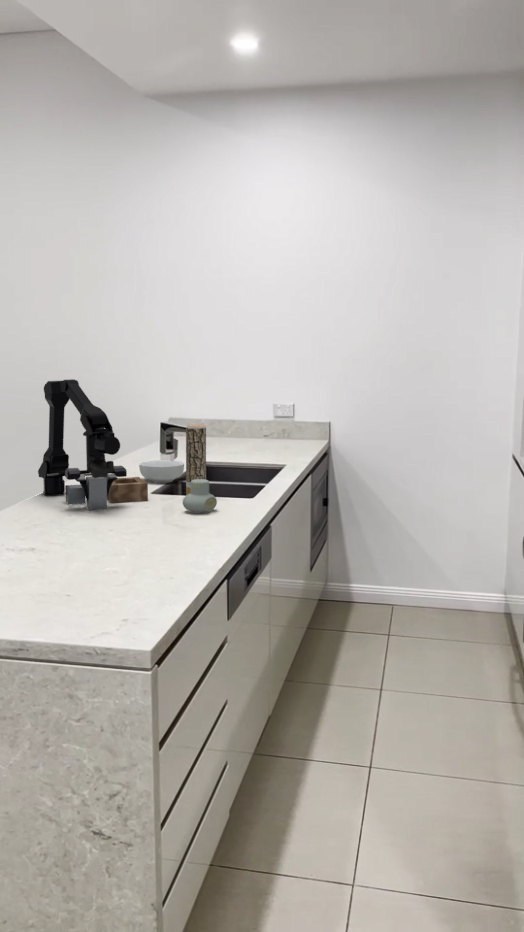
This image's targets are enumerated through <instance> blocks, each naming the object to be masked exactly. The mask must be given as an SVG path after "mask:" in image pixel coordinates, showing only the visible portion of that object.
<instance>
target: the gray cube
mask: <svg viewBox="0 0 524 932" xmlns="http://www.w3.org/2000/svg"><path fill="white" fill-rule="evenodd" d="M64 494H65V503H66V504H67V503H68V504H72V505H82V503H85V504H86V497H85V494H84V491H83V489H82V486H81V484H68V485H66V484H65V492H64ZM68 504H67V505H68Z"/></svg>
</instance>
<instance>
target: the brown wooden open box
mask: <svg viewBox="0 0 524 932" xmlns="http://www.w3.org/2000/svg"><path fill="white" fill-rule="evenodd" d="M148 490H149V484H148V482H146V481H145V480H144V479H143V478H141V477H140V476H132V477H130V476H129V477H117V480H114V481H113V483H112V485H111V487H110V490H109V493H108V496H107V502H109V503H110V504H119V503H120V504H121V503H135V502H148V501H149V492H148Z"/></svg>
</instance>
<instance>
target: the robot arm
mask: <svg viewBox="0 0 524 932" xmlns="http://www.w3.org/2000/svg"><path fill="white" fill-rule="evenodd" d="M43 392H44V400H45V401H46V402H47V404H48V406H49V409H48V410H49V414H48V415H49V417H48V419H49V421H48V446H47V447H48V448H47V449H46V451H45V452H44V454H43V456H42V462H41V464H40V466H39V468H38V470H37V475H38V477H39V478H41V479H43V491H42V493H43V495H44V494H45V495H51V496H60V495H59V494H64V495H65V485H66V484H65V483H66V482H65V480H64V477H65V479H66V480H69V481H71V480H72V481H73V480H75V481H76V482H78V483H79V485H81V486H82V489H83V491H84V494H85V500H86V499H87V500H88V490H87V480H86V477H90V476H92V477H93V478H98V477H105V478H106V479H107V496H108V493H109V490H110V487H111V485H112V483H113V481H114V480H117V478H127V476H128V475H127V469H126V468H125V467H124V466H123V465H115V464H114V460H106V455H111V456H112V455H116V454H118V452H119V451H120V449H121V443H120V440H119V438H118V437H116V436H115V432H114V431H113V430H114V429H113V426H112V424H111V422H110V419H109V418H108V415H107V414H106V412H105V411H104V410H103V409H102V408H101V407H98V406H96V405H94V404H93V403H92V401H91V400H90V399H89V398H88V396H87V395H86V393H85V392H84V391H83V389H82V387H81V386H80V383H79V381H78V379H77V380H76V379H73V378H71V379H63V380H48V381H46V383H45V384H44V385H43ZM69 401H71V403H72V405H73V406H74V407H75V408H76V410H77V412H78V413H79V414H80V417H79V418H80V419H79V421H80V423H81V424H82V425H81V426H82V427H83V428H84V430H85V431H84V432H82V435H83V436H84V437H85V442H86V443H85V449H86V450H85V451H86V455H85V456H86V457H85V458H86V469H81V470H80V468H78V467H69V466H70V464H69V463H70V462H69V460H70V459H69V458H70V457H69V454H67V453H66V451H65V449H64V432H65V431H64V430H65V407H66V405H68V403H69ZM45 495H44V496H45Z"/></svg>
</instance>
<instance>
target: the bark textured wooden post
mask: <svg viewBox="0 0 524 932" xmlns="http://www.w3.org/2000/svg"><path fill="white" fill-rule="evenodd" d="M185 470H186V471H185V484H186V485H185V487H186V488H185V490H186V491H185V494H186V495H188V494H190V493H191V481H192V480H195V479H205V480H207V425H205V424H186V426H185ZM186 495H185V496H186Z"/></svg>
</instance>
